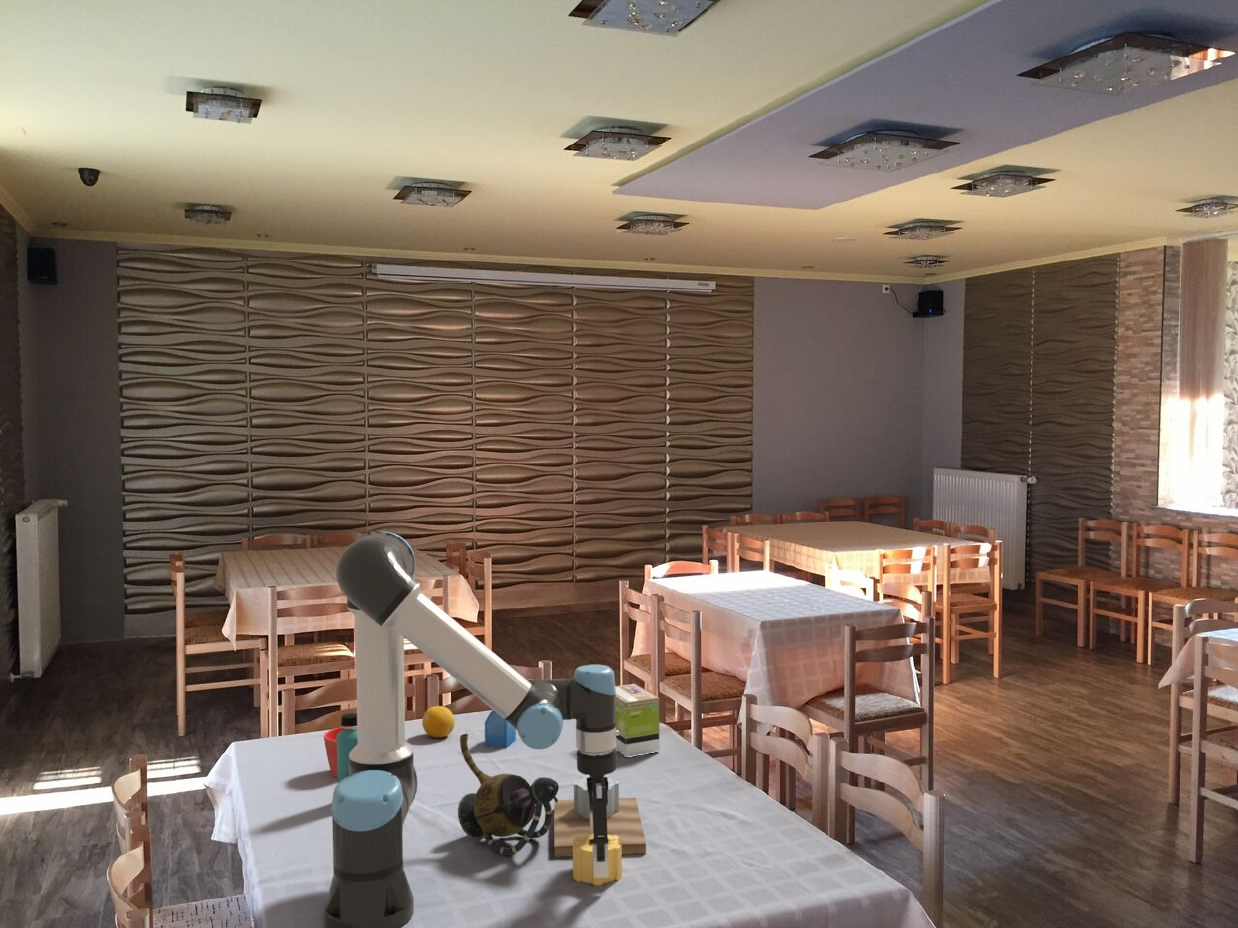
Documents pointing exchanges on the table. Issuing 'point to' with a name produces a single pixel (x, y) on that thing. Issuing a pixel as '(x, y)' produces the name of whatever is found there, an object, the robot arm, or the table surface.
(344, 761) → the beverage bottle
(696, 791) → the table surface
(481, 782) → the teapot
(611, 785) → the pale grey gear
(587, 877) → the ochre gear
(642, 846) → the gear board
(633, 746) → the tea box
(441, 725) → the fruit
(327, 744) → the flower pot
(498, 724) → the perfume bottle
